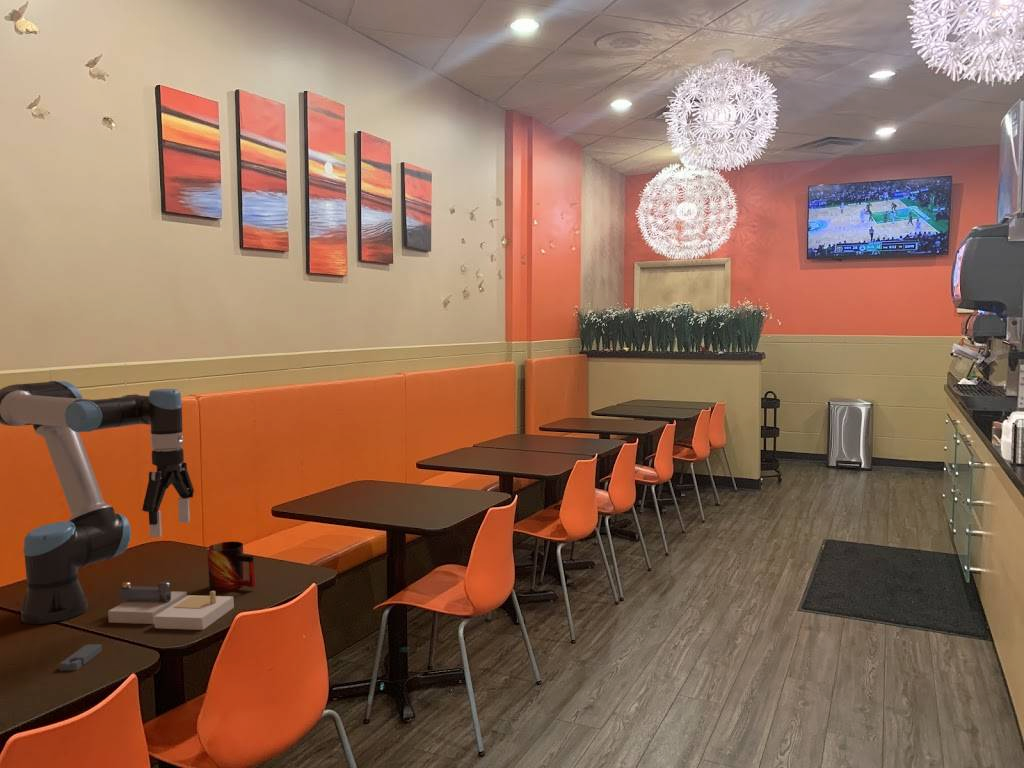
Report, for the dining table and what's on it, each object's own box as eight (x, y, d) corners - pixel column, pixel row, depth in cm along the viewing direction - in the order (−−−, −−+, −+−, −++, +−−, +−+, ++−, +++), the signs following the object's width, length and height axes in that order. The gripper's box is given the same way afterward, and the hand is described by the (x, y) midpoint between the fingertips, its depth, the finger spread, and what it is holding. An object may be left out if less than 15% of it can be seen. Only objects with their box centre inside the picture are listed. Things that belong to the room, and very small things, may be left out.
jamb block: (108, 622, 193) (108, 611, 193) (145, 601, 208) (144, 590, 208) (153, 623, 191) (152, 612, 191) (187, 602, 206) (186, 591, 206)
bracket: (102, 652, 176) (102, 643, 176) (76, 672, 166) (76, 663, 166) (86, 652, 176) (85, 644, 176) (59, 672, 166) (58, 663, 166)
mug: (254, 591, 214) (252, 549, 213) (204, 593, 213) (202, 551, 212) (263, 579, 224) (261, 540, 223) (215, 582, 223) (213, 542, 222)
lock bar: (173, 598, 200) (172, 581, 200) (166, 602, 197) (165, 585, 197) (127, 597, 202) (125, 580, 202) (120, 600, 199) (119, 583, 199)
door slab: (154, 628, 189) (153, 604, 188) (188, 606, 203) (187, 584, 203) (202, 629, 187) (201, 606, 186) (233, 607, 201) (232, 585, 201)
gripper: (153, 457, 183) (157, 543, 185) (205, 441, 207) (208, 516, 209) (124, 457, 183) (128, 542, 185) (179, 440, 208) (182, 516, 210)
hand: (170, 529), depth 197 cm, fingers open, 13 cm apart
